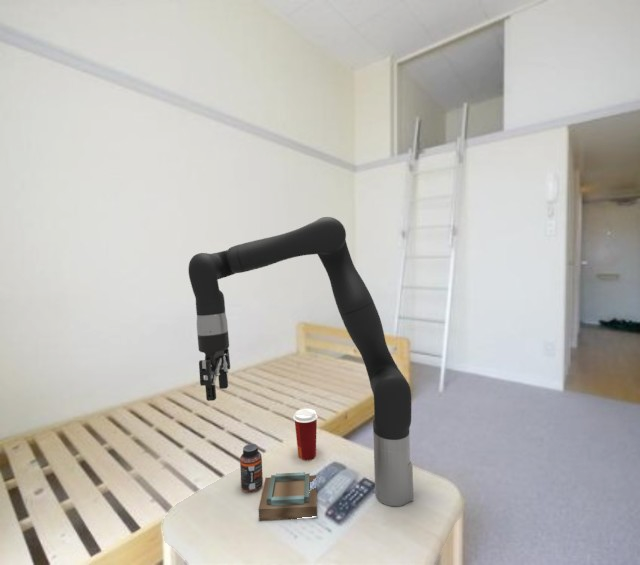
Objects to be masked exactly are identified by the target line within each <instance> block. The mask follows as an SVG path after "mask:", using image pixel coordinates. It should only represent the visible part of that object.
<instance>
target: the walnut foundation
mask: <svg viewBox="0 0 640 565" xmlns="http://www.w3.org/2000/svg"><path fill="white" fill-rule="evenodd" d="M310 474H311V473H306V472H304V471H303V472H291V473H290V472H283V473H275V474H273V475H272V474H271V475H270V477H265V478H264V479H265V480H264V481H263V488H262V491H261V492H262V493H261V496H260V501H259V504H258V505H259V506H258V522H270V521H271V522H272V521H286V520H287V521H288V520H291V519H292V520H298V519H297V518H302V517H312V516H317V517H318V493H317V492H318V491H317V492H316V488H314V489H312V490H311V491H309V490H310V482H312V481H313V479H315V478H316V479H317V475H313V474H312V475H310ZM309 492H310V493H309Z"/></svg>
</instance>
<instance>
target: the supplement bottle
mask: <svg viewBox="0 0 640 565" xmlns="http://www.w3.org/2000/svg"><path fill="white" fill-rule="evenodd" d="M262 457H263V456H262V453H261V452H260V450H259V449H258V445H257V444H255V443H248V444H246V445H244V446H243V448H242V454H241V455H240V458H239V461H240V462H239V465H240V466H239V467H240V484H241V485H240V488H241V490H242V491H243V492H245V493H254V492H257V491H258V490H261V488H262V486H263V485H264V480H263V462H262V461H263V458H262Z"/></svg>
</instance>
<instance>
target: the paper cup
mask: <svg viewBox="0 0 640 565" xmlns="http://www.w3.org/2000/svg"><path fill="white" fill-rule="evenodd" d="M318 417H319V416H318V414H317V411H316V410H314V409H312V408H300V409H298V410H296V411H295V413H294V415H293V420H294V426H295V436H296V446H297V454H298V458H299V460H302V461H312V460H313V459H315V457H316V456H317V427H318V426H317V420H318Z"/></svg>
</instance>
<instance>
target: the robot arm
mask: <svg viewBox="0 0 640 565" xmlns="http://www.w3.org/2000/svg"><path fill="white" fill-rule="evenodd" d="M346 232H347V231H346V228H345V226H344V225H343V224H342V222H341V221H340V220H338V219H336V218H334V217H333V216H325V217H324V216H323V217H320V218H318V219H316V220H315V221H313V222H310V223H308V224H306V225H304V226H301V227H300V228H296V229H295V230H291V231H288V232H285V233H281V234H278V235H274V236H273V235H272V236H270V237H265V238H261V239H256V240H251V241H248V242H243V243H240V244H237V245H233V246H231V247H229V248H228V249H227V250H222V251H218V252H214V253H208V252H199V253H196V254H195V255H192V257H191V259H190V260H189V263H188V276H189V282H190V285H191V288H192V292H193V295H194V298H195V310H196V335H197V336H196V337H197V345H198V346H197V347H198V351H199V352H200V353H204V354H205V355H204V359H203V360H199V362H198V367H199V368H198V369H199V383H200V386H202V387H203V386H204V387H205V395H206V401H208V402H209V401H210V402H212V401H215V400H216V399H217V391H216V379H217V377H218V386H219V389H223V390H224V389H228V387H229V381H228V380H229V379H228V378H229V377H228V374H229V370H231V361H230V351H229V350H230V349H229V348H230V340H229V339H230V338H229V328H228V327H229V326H228V319H227V314H226V303H225V296H224V293H223V291H222V290H220V287H219V280H221V279H223V278H224V279H225V278H227V277H230V276H233V275H236V274H240V273H242V274H243V273H246V272H250V271H254V270H257V269H261V268H265V267H268V266H272V265H274V264H277V263H279V262H283V261H286V260H289V259H293V258H297V257H303V256H308V255H309V256H310V255H317V257H319V259H320V261H321V263H322V265H323V267H324V269H325V272H326V273H327V276H328V279H329V282H330V285H331V291H332V294H333V298H334V301H335V305H336V307H337V310H338V313H339V315H340V317H341V320H342V322H343V325H344V328H345V329H346V332H347V333H348V335H349V337H350V339H351V341H352V342H353V344H354V345H355V347H356V349H357V350H358V352H359V353H360V356H361V358H362V360H363V364H364V367H365V369H366V373H367V375H368V380H369V383H370V389H371V391H372V394H373V405H374V406H373V407H374V410H373V413H374V417H373V421H372V429H373V430H372V431H373V432H372V433H373V434H372V435H373V462H374V463H373V464H374V466H373V467H374V493H375V494H376V495H375V494H374V495H375V497H376V499H377V500H378V501H379V502H380V503H382V504H384V505H386V506H389V507H402V506H404V505H406V504H408V503H409V502H414V479H413V478H414V471H413V470H414V469H413V468H414V467H413V464H412V462H411V444H410V443H411V442H410V440H411V439H410V438H411V437H410V426H411V424H412V391H411V386H410V384H409V381H407V378H406V377H405V375H403V373H402V372H401V370H400V369H399V367H398V365H397V363H396V362H395V360H394V358H393V356H392V354H391V352H390V350H389V348H388V345H387V342H386V337H385V332H384V328H383V325H382V324H383V323H382V320H381V317H380V315H379V311H378V309H377V306H376V304H375V301H374V299H373V297H372V296H371V293H370V291H369V289H368V287H367V285H366V283H365V282H364V280H363V279H362V277H361V275H360V274H359V272H358V270H357V269H356V267H355V265H354V262H353V260H352V256H351V253H350V250H349V247H348V244H347V239H346V238H347V233H346Z"/></svg>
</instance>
